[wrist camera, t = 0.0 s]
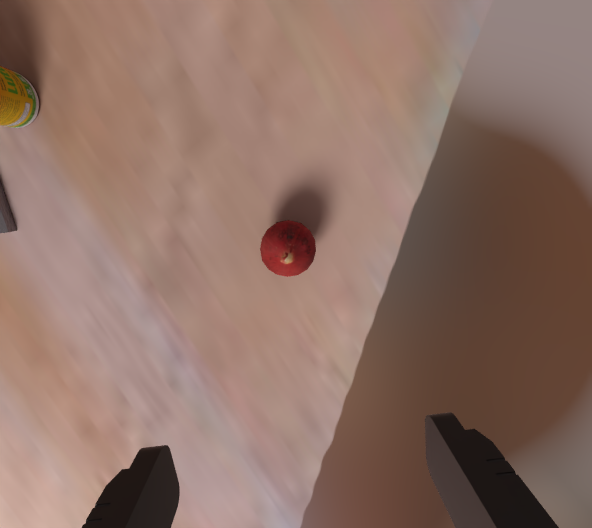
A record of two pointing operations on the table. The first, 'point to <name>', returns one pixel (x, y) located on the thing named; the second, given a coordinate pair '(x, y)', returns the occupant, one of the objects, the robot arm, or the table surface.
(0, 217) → the plate
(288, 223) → the red fruit
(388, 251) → the table surface
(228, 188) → the table surface
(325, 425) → the table surface
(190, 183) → the table surface
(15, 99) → the supplement bottle
